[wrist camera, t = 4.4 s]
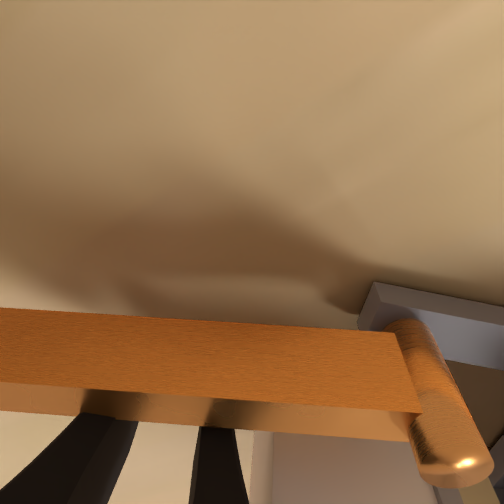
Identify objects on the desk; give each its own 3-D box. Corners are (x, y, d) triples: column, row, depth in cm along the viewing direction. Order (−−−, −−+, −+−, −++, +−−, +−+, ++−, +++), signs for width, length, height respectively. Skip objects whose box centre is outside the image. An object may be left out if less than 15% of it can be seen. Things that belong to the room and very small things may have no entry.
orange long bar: (436, 319, 11) (504, 449, 7) (424, 357, 11) (481, 491, 8) (3, 293, 11) (-113, 401, 8) (16, 330, 12) (-84, 444, 9)
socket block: (719, 349, 12) (933, 508, 8) (529, 521, 17) (600, 666, 13) (374, 281, 12) (420, 413, 8) (290, 478, 17) (291, 615, 13)
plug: (474, 395, 13) (568, 577, 9) (422, 466, 16) (478, 640, 11) (276, 357, 13) (273, 524, 9) (253, 435, 15) (240, 600, 11)
